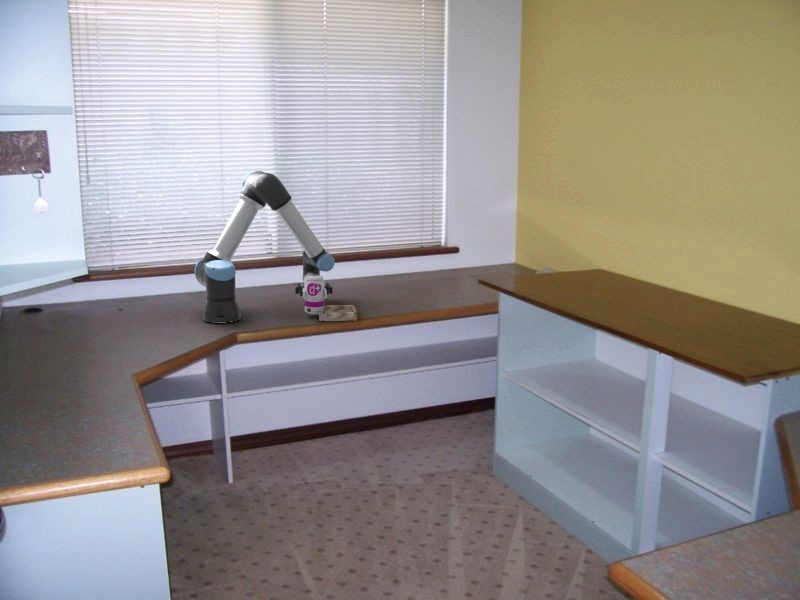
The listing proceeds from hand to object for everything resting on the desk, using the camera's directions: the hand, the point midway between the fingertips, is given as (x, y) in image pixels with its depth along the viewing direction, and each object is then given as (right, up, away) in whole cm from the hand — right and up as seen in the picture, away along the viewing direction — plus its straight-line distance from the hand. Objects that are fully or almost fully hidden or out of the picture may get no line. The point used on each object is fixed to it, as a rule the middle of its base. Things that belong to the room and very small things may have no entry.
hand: (314, 294), depth 307 cm
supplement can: (-1, -7, +7) cm, 10 cm away
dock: (+8, -9, +8) cm, 15 cm away
